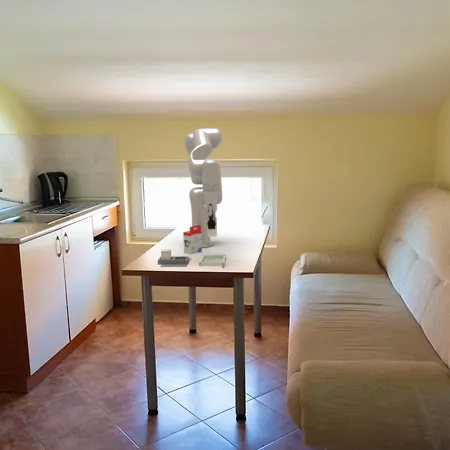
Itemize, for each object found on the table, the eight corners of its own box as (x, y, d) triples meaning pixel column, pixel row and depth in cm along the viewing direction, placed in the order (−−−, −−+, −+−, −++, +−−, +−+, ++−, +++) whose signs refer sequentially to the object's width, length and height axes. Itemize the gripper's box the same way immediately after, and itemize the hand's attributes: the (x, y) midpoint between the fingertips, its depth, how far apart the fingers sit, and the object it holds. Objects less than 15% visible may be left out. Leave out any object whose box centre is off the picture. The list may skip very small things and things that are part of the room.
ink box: (195, 251, 254) (194, 223, 251) (202, 252, 251) (201, 224, 248) (183, 254, 247) (182, 226, 245) (190, 256, 244) (189, 227, 241)
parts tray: (202, 260, 236) (202, 255, 235) (225, 260, 235) (225, 254, 234) (199, 267, 222) (199, 262, 221) (223, 267, 221) (223, 262, 221)
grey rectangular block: (208, 235, 228) (208, 217, 227) (217, 234, 228) (216, 217, 226) (207, 236, 224) (207, 219, 223) (216, 236, 224) (215, 219, 222)
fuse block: (162, 260, 237) (162, 246, 236) (191, 260, 236) (191, 246, 235) (155, 269, 221) (155, 254, 220) (186, 269, 220) (186, 254, 219)
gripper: (204, 186, 231) (206, 225, 234) (200, 190, 214) (201, 231, 217) (220, 186, 230) (221, 224, 233) (217, 189, 214) (218, 231, 217)
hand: (212, 227), depth 225 cm, fingers closed on grey rectangular block, 4 cm apart
